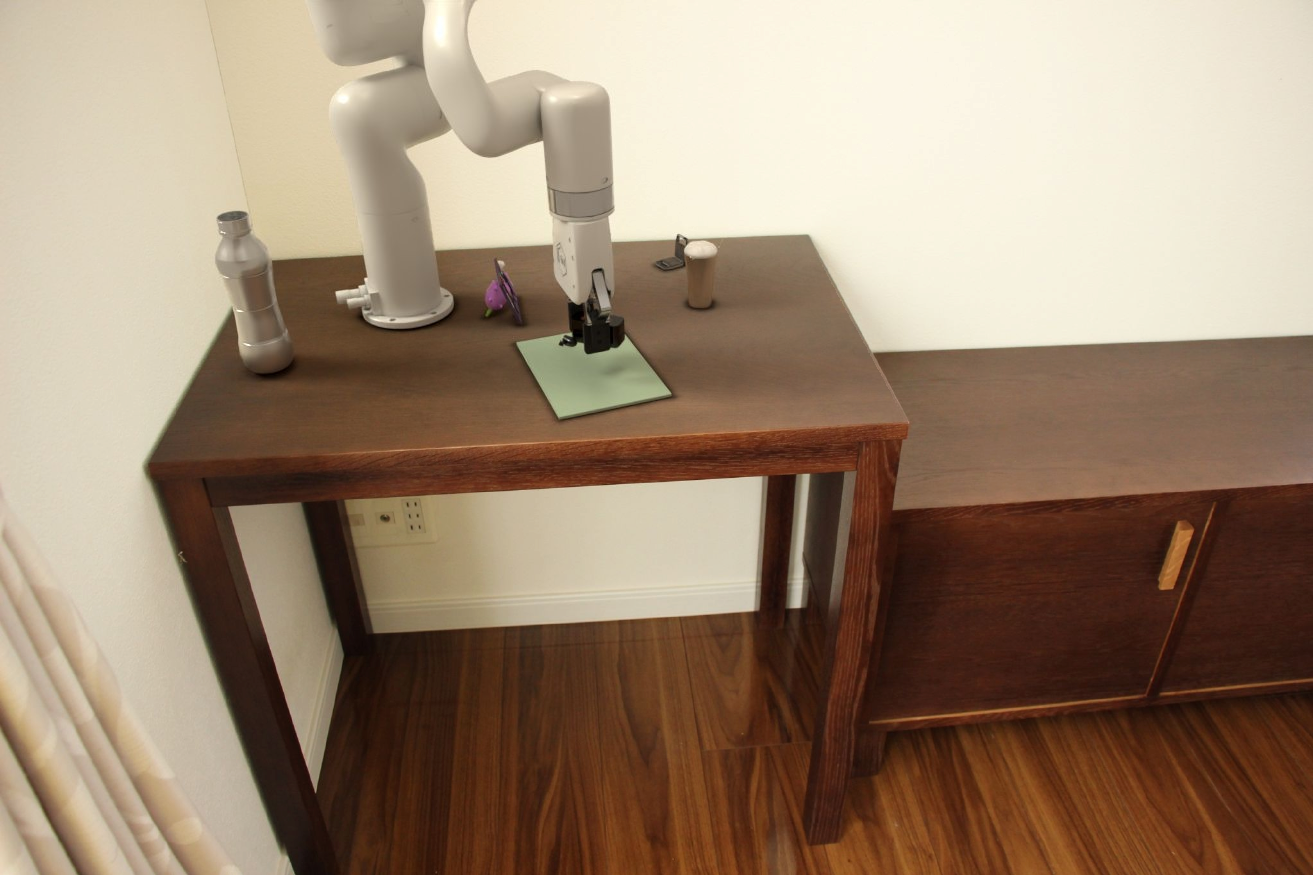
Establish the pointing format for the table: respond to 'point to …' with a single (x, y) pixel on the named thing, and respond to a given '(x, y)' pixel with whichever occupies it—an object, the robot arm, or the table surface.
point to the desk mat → (590, 376)
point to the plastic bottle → (252, 295)
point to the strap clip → (679, 254)
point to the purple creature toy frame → (501, 293)
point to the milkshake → (700, 272)
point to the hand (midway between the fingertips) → (589, 339)
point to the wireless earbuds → (577, 331)
